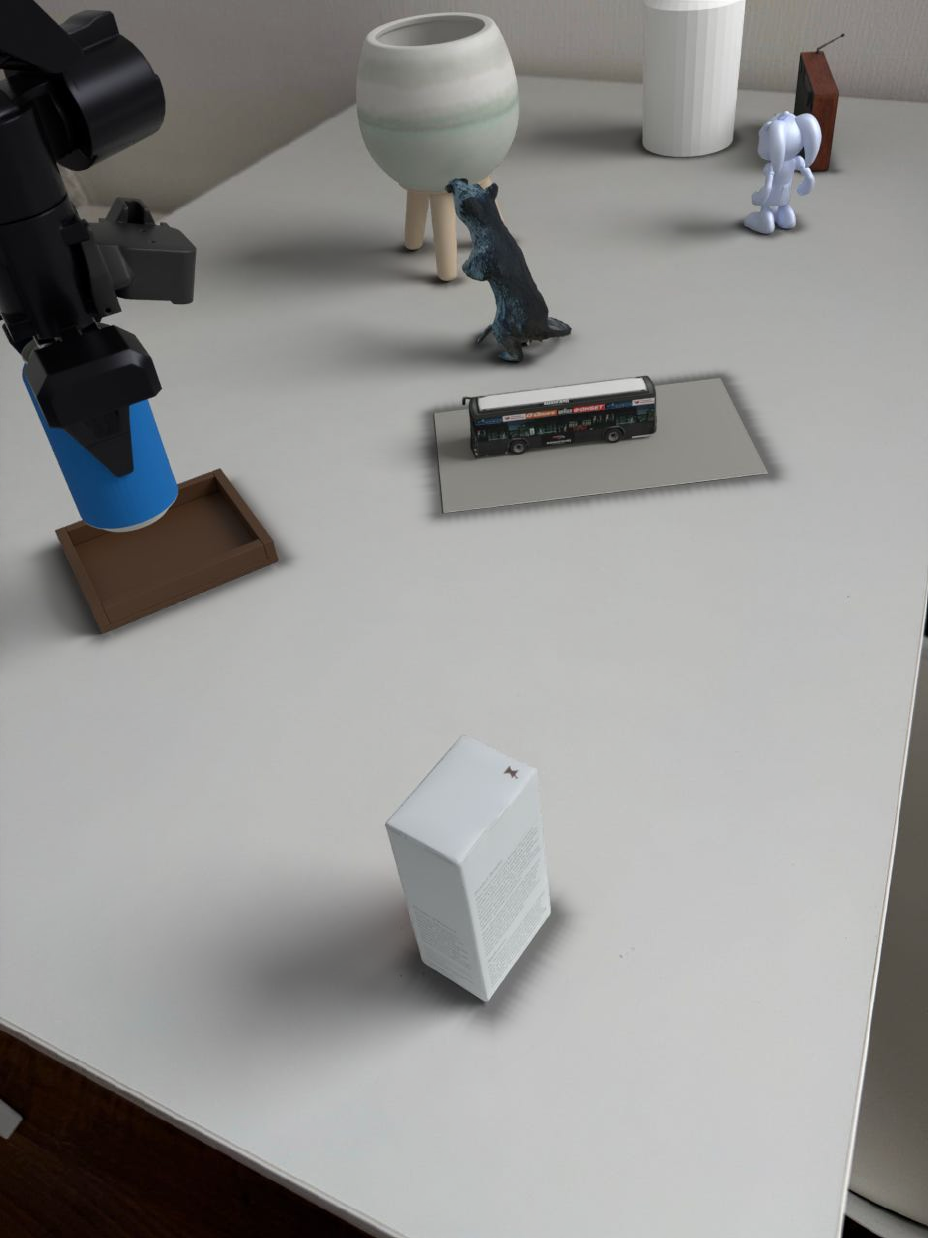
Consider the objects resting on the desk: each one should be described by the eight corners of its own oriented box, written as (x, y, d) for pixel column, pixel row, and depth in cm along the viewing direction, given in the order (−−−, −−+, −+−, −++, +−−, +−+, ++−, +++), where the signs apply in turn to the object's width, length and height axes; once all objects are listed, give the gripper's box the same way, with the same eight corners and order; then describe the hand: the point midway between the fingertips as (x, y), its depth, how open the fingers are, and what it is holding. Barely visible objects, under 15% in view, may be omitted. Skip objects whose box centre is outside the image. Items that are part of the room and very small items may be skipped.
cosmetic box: (485, 876, 56) (464, 728, 47) (553, 914, 53) (542, 767, 45) (416, 964, 52) (380, 822, 44) (485, 1008, 50) (461, 867, 42)
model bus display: (434, 413, 90) (428, 370, 87) (719, 378, 90) (723, 333, 87) (443, 512, 80) (437, 467, 77) (767, 473, 79) (773, 425, 76)
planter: (446, 304, 105) (418, 63, 90) (352, 263, 115) (312, 39, 100) (558, 249, 112) (549, 17, 97) (461, 215, 122) (439, -1, 107)
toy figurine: (785, 209, 114) (798, 92, 106) (818, 229, 110) (834, 109, 102) (729, 222, 113) (738, 105, 105) (759, 244, 109) (771, 123, 100)
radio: (789, 124, 133) (803, -9, 123) (813, 123, 133) (830, -11, 123) (803, 178, 120) (820, 34, 110) (830, 177, 119) (850, 32, 109)
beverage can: (150, 472, 72) (92, 309, 65) (199, 505, 68) (144, 336, 61) (67, 514, 69) (-5, 349, 62) (113, 551, 65) (43, 380, 58)
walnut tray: (101, 634, 73) (92, 613, 72) (63, 550, 81) (54, 530, 80) (279, 560, 77) (273, 539, 76) (226, 487, 85) (220, 467, 84)
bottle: (631, 131, 137) (633, -95, 120) (719, 119, 137) (734, -109, 120) (652, 162, 128) (659, -77, 111) (747, 149, 128) (768, -92, 111)
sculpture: (493, 313, 103) (480, 157, 93) (587, 335, 98) (584, 173, 88) (444, 351, 98) (424, 191, 88) (540, 376, 93) (531, 210, 83)
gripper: (211, 214, 51) (281, 472, 62) (114, 122, 64) (186, 350, 75) (-15, 282, 48) (100, 542, 59) (-70, 171, 61) (33, 403, 71)
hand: (111, 448), depth 66 cm, fingers closed on beverage can, 6 cm apart
